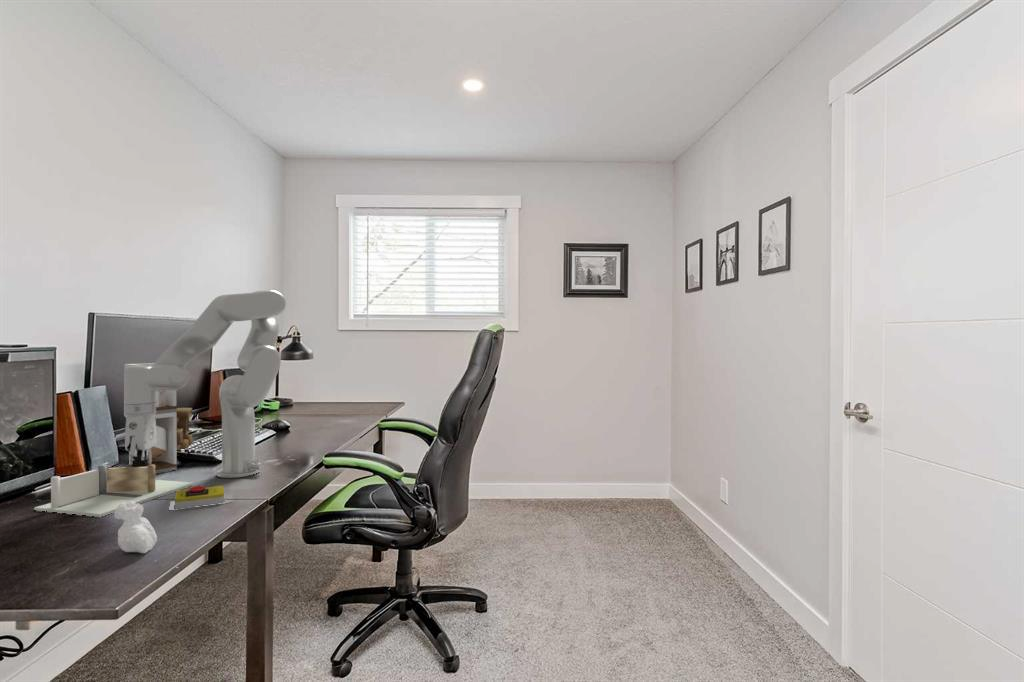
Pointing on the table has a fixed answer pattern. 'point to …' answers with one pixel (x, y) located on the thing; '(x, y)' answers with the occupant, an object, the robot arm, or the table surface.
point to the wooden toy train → (183, 428)
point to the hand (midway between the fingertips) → (140, 473)
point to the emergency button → (199, 496)
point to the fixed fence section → (78, 486)
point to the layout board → (114, 500)
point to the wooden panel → (131, 479)
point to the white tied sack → (134, 529)
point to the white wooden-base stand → (163, 431)
